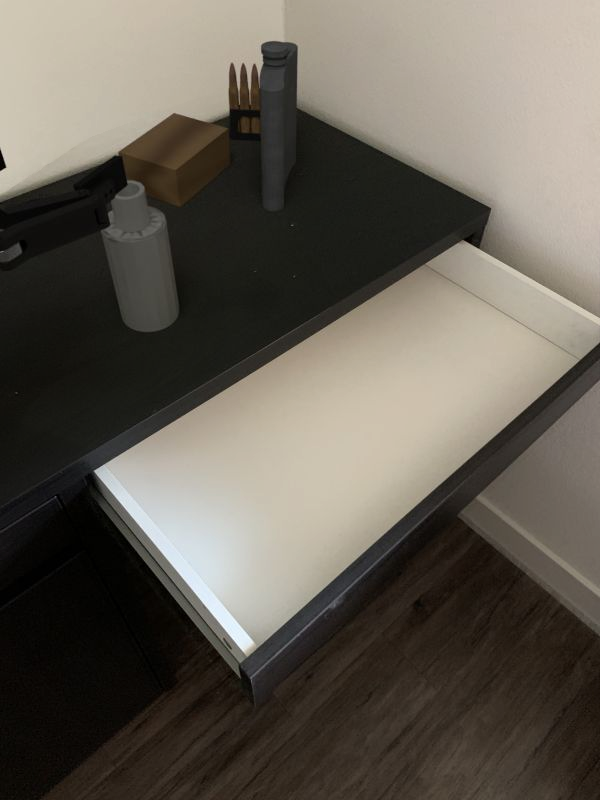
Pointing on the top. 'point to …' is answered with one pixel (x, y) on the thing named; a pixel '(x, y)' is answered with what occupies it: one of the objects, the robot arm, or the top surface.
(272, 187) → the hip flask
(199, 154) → the plinth
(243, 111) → the ammunition clip
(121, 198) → the bottle
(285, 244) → the top surface
